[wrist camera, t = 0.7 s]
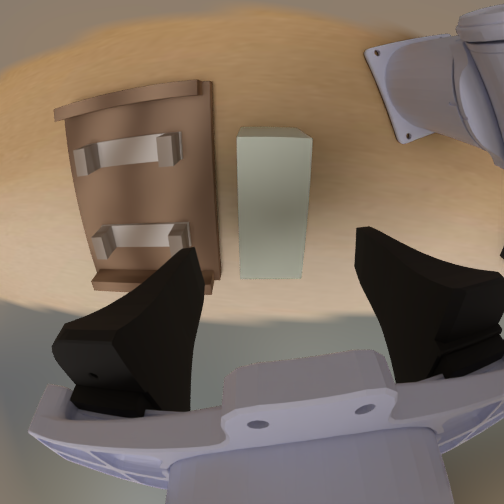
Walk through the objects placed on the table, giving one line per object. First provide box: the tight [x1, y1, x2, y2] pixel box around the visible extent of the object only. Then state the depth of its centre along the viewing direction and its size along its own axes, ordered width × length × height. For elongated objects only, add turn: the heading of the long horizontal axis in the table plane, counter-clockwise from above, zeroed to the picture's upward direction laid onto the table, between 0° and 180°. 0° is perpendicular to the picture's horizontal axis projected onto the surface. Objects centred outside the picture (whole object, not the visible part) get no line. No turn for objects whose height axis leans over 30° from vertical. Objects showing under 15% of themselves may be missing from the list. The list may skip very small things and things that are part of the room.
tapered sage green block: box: [237, 127, 313, 279], centre depth 19 cm, size 4×9×6 cm, turn 0°
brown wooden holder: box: [54, 80, 221, 295], centre depth 20 cm, size 12×16×4 cm
